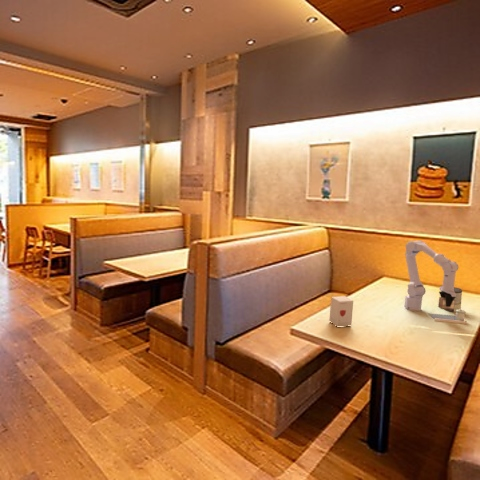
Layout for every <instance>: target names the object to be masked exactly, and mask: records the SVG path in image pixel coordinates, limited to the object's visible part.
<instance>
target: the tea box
mask: <svg viewBox="0 0 480 480" xmlns="http://www.w3.org/2000/svg"><path fill="white" fill-rule="evenodd" d="M437 305H438V306H437V307H438V308H439V309H440V310H444V309H450V310H454V306H455V299H454V300H453V302H452V304H451V306H450V307H447V306H446V298H445V297H441V296H439V298H438V304H437Z"/></svg>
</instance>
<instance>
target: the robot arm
mask: <svg viewBox="0 0 480 480" xmlns="http://www.w3.org/2000/svg"><path fill="white" fill-rule="evenodd" d="M420 252H422V253H425V254H426V255H428V256H429V257H430V258H432V259H433V262H434V263H435V264H437V265H439V266H440V267H441V268H442V271H443V280H442V286H439V292H438V293H439V297H445V298H446V306H447V307H450V306H451V304H452V302H453V300H454V299H455V298H456V293H455V292H454V287H455V282H456V281H455V280H456V272H457V271H458V270H459V264H458V263H457V262H456V261H452V260H451V259H450V258H449V259H448V258H447V257H446V256H445V254H444V253H437V252H436V251H435V250H433V249H432V248H431V247H430V246H428V245H427V243H426V242H424V241H422V240H413V241H412V240H409V241H407V243H406V244H405V254H404V255H405V259H406V260H405V261H406V265H407V272H408V275H409V277H408V278H409V283H408V284H407V295H406V296H405V297H404V304H403V305H404V308H405V310H409V311H418V312H419V311H422V304H423V302H422V301H423V298H424V295H425V294H426V287H424V284H423V282H422V281H421V280H420V275H419V270H418V266H417V265H418V264H417V260H416V256H417V255H418V253H420Z"/></svg>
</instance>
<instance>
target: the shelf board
mask: <svg viewBox="0 0 480 480" xmlns="http://www.w3.org/2000/svg"><path fill="white" fill-rule="evenodd" d="M428 315H429V316H430V318H432V320H434V322H445V323H456V324H464V325H465V324H466V325H467V323H468V322H467V320H464V321H459V320H455V317H456V315H453V314H452V315H450V314H443V313H442V314H440V313H430V312H429V313H428Z"/></svg>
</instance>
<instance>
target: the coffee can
mask: <svg viewBox="0 0 480 480" xmlns="http://www.w3.org/2000/svg"><path fill="white" fill-rule="evenodd" d="M454 292H455V293H456V298H455V306H454V310H450V309H443V311H446V312H451V313H456V310H460V309H461V310H462V295H463V289H462V288H459V287H455V286H454Z"/></svg>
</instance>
